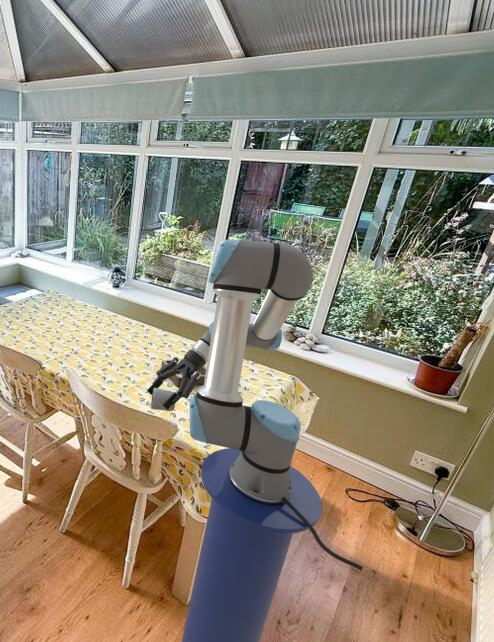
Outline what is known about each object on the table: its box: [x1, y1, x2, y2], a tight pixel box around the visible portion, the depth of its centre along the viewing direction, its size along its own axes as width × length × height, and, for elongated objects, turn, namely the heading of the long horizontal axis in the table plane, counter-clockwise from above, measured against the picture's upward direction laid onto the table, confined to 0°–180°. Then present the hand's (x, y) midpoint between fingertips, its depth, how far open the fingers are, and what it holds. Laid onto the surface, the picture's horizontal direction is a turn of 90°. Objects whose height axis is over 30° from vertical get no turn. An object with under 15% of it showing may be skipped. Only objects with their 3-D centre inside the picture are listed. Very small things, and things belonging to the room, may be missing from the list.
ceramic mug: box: [150, 388, 176, 412], centre depth 151 cm, size 11×8×8 cm
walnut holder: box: [160, 358, 207, 388], centre depth 174 cm, size 16×16×5 cm
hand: (156, 400), depth 149 cm, fingers closed on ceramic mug, 10 cm apart
